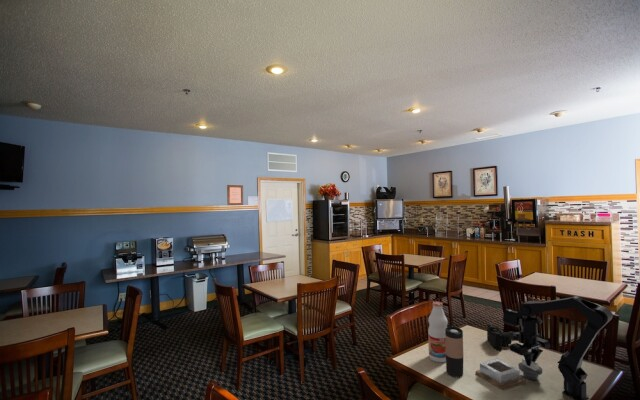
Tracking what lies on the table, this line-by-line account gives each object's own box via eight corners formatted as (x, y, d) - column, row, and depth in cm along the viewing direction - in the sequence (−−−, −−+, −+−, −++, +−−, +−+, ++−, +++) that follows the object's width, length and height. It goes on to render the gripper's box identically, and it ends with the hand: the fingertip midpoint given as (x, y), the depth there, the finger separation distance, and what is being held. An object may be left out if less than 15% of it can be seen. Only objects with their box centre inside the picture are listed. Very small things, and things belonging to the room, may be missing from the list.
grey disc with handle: (547, 379, 143) (547, 363, 143) (533, 384, 140) (532, 368, 140) (527, 369, 152) (527, 354, 151) (513, 373, 148) (513, 358, 148)
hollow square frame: (519, 379, 142) (519, 369, 142) (501, 384, 138) (501, 375, 138) (497, 367, 153) (497, 358, 153) (479, 372, 149) (479, 363, 149)
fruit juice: (445, 354, 169) (444, 300, 169) (451, 363, 159) (450, 306, 159) (426, 353, 169) (425, 300, 169) (431, 363, 160) (430, 306, 160)
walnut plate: (524, 383, 141) (524, 380, 141) (502, 390, 137) (502, 387, 137) (496, 367, 154) (496, 365, 154) (475, 373, 150) (475, 371, 150)
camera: (515, 352, 170) (515, 332, 170) (493, 350, 172) (493, 331, 172) (505, 340, 183) (505, 322, 183) (485, 339, 185) (485, 321, 185)
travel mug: (448, 367, 156) (448, 325, 156) (465, 372, 151) (465, 329, 151) (443, 374, 150) (442, 330, 150) (460, 379, 145) (460, 334, 145)
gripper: (527, 320, 156) (527, 353, 157) (498, 327, 150) (499, 361, 150) (550, 329, 146) (551, 364, 146) (521, 336, 139) (522, 373, 139)
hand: (530, 365), depth 146 cm, fingers closed on grey disc with handle
